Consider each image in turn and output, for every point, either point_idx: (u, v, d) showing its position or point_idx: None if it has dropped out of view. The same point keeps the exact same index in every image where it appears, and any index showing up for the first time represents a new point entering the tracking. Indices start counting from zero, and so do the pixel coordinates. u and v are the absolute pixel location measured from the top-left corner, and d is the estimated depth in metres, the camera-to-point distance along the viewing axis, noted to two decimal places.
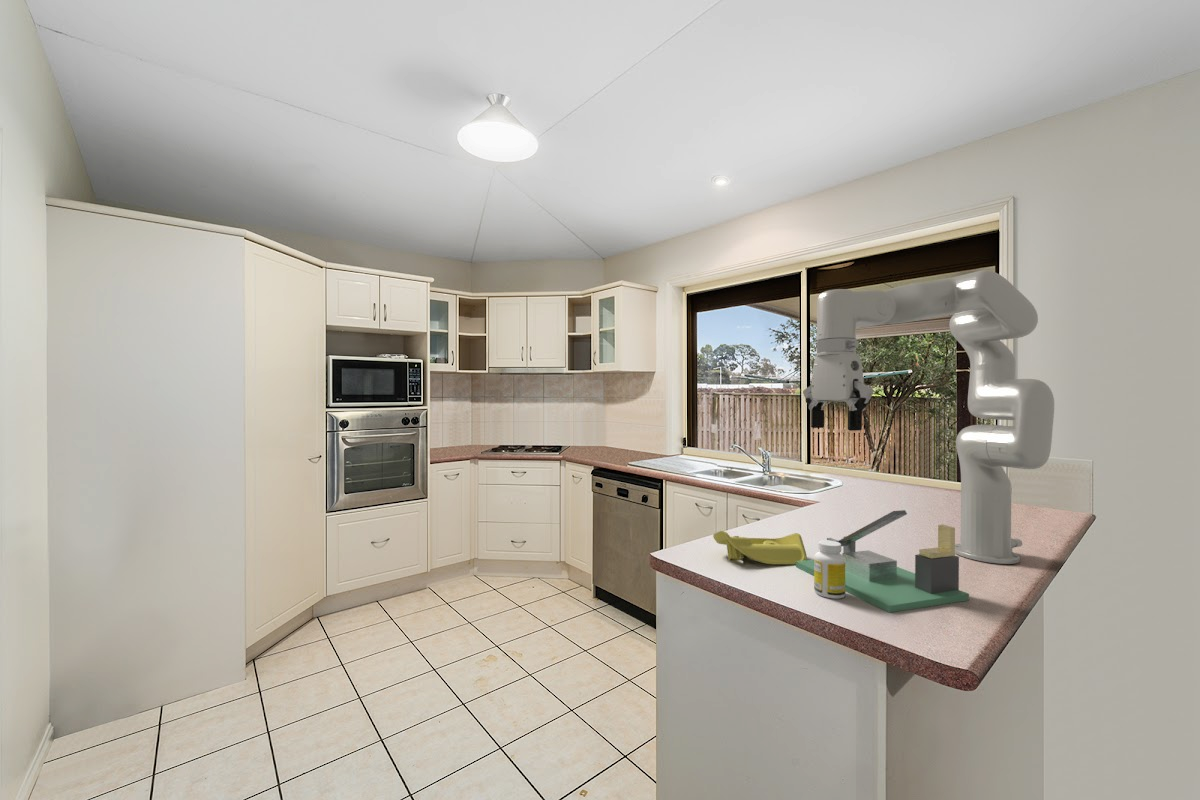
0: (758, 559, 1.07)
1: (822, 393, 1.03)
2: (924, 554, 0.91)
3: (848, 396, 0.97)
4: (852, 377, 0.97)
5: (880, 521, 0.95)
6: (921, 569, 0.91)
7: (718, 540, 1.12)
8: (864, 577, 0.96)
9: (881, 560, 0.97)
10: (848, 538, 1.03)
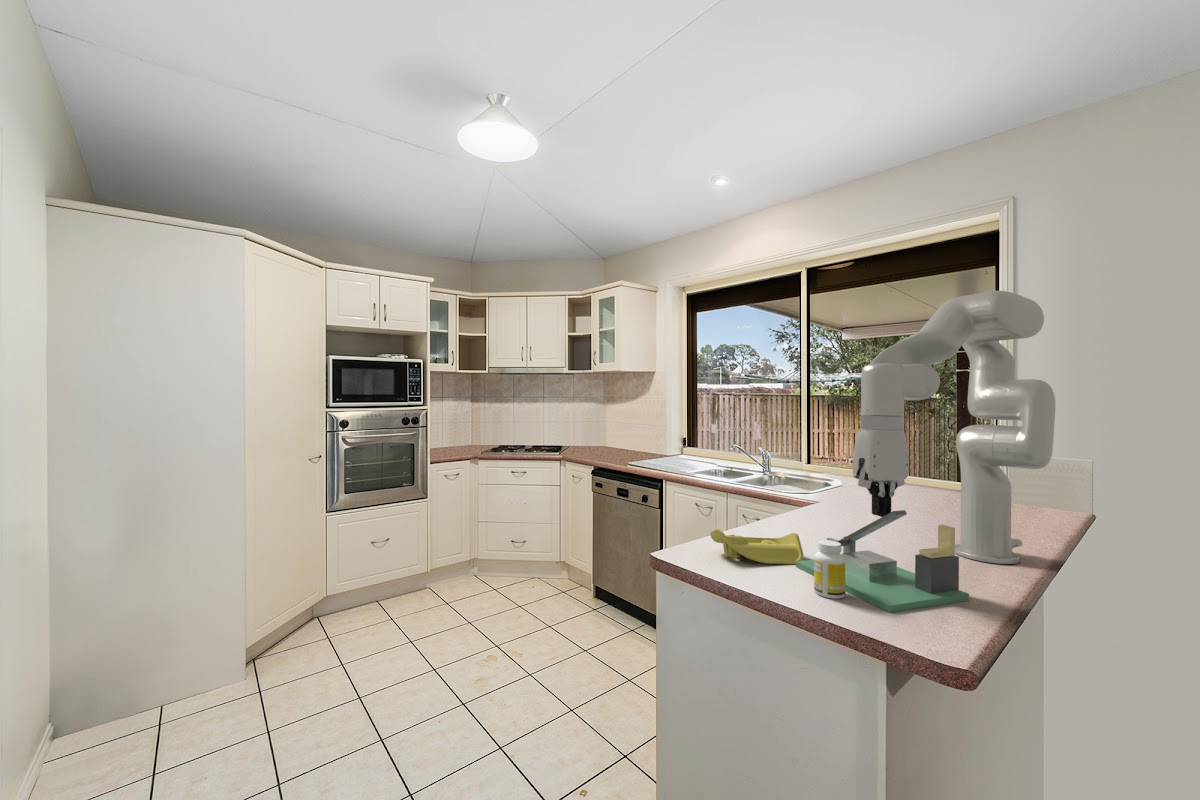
0: (753, 558, 1.08)
1: (885, 473, 0.94)
2: (924, 554, 0.91)
3: (907, 475, 0.97)
4: None
5: (880, 521, 0.95)
6: (921, 569, 0.91)
7: (714, 538, 1.13)
8: (864, 577, 0.96)
9: (881, 560, 0.97)
10: (848, 538, 1.03)
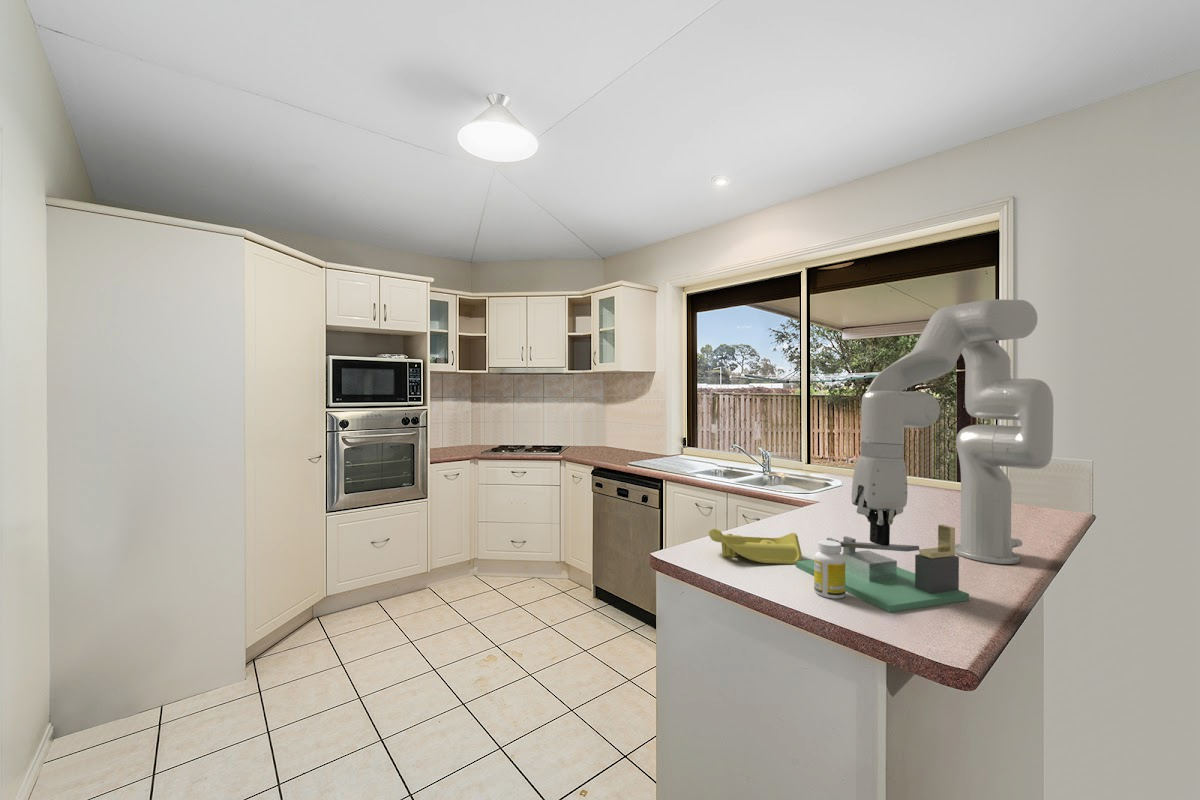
0: (750, 557, 1.08)
1: (884, 501, 0.94)
2: (924, 554, 0.91)
3: (906, 503, 0.96)
4: None
5: (889, 549, 0.93)
6: (921, 569, 0.91)
7: (713, 538, 1.14)
8: (864, 577, 0.96)
9: (881, 560, 0.97)
10: (850, 546, 1.02)
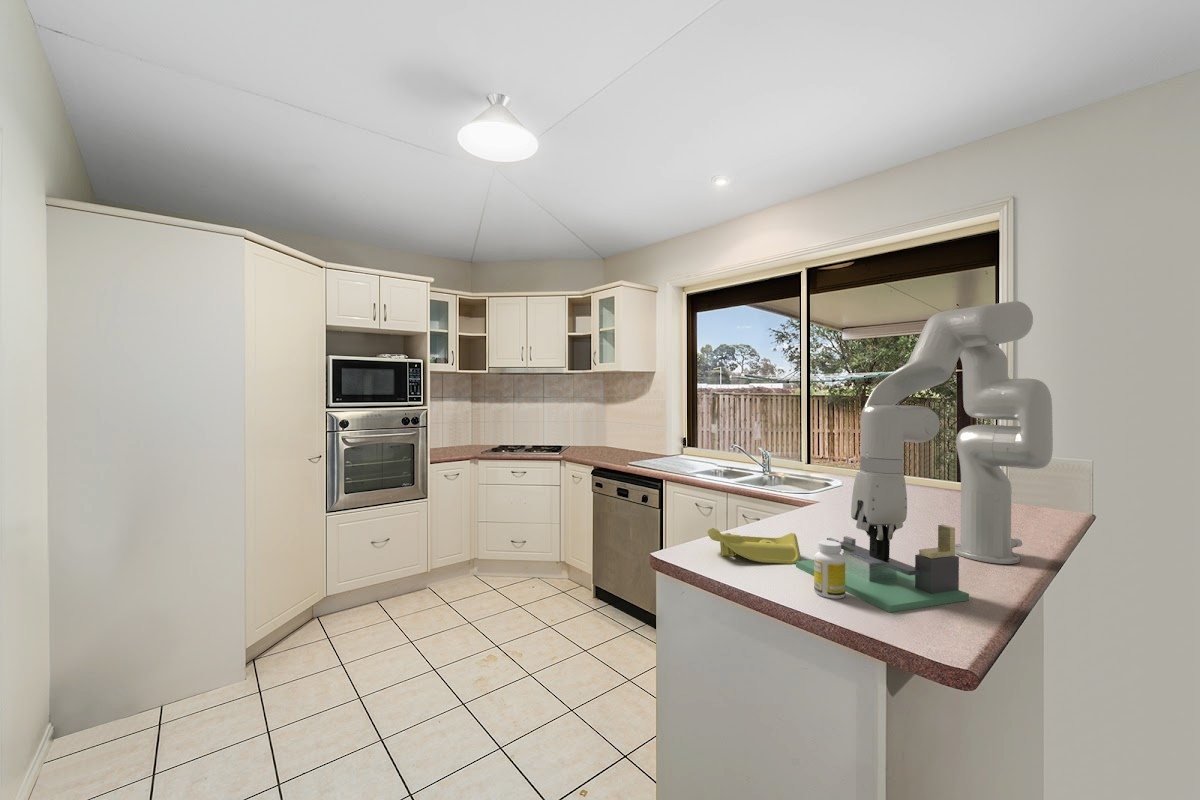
0: (748, 556, 1.09)
1: (884, 517, 0.94)
2: (924, 554, 0.91)
3: (905, 518, 0.96)
4: None
5: (890, 567, 0.93)
6: (921, 569, 0.91)
7: (711, 537, 1.15)
8: (864, 577, 0.96)
9: None
10: (850, 551, 1.02)
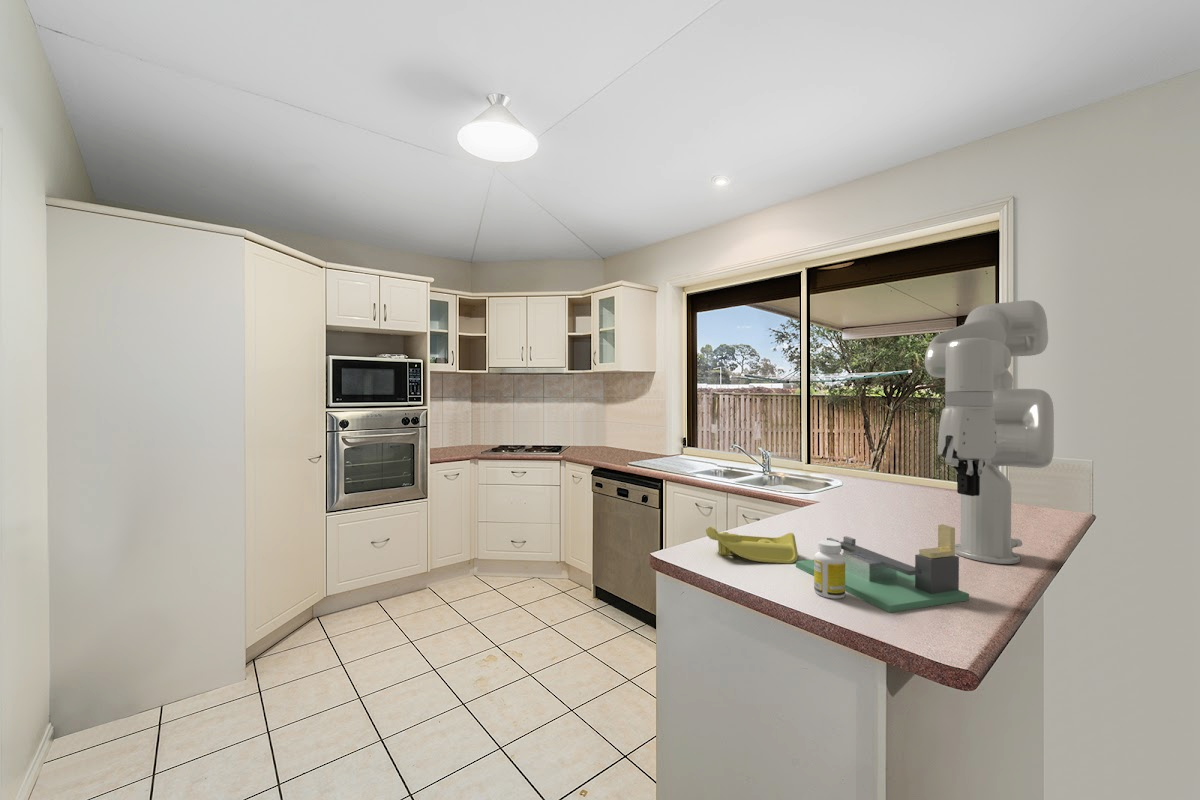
0: (744, 555, 1.09)
1: (974, 451, 0.92)
2: (924, 554, 0.91)
3: None
4: None
5: (890, 567, 0.93)
6: (921, 569, 0.91)
7: (709, 536, 1.16)
8: (864, 577, 0.96)
9: None
10: (850, 551, 1.02)
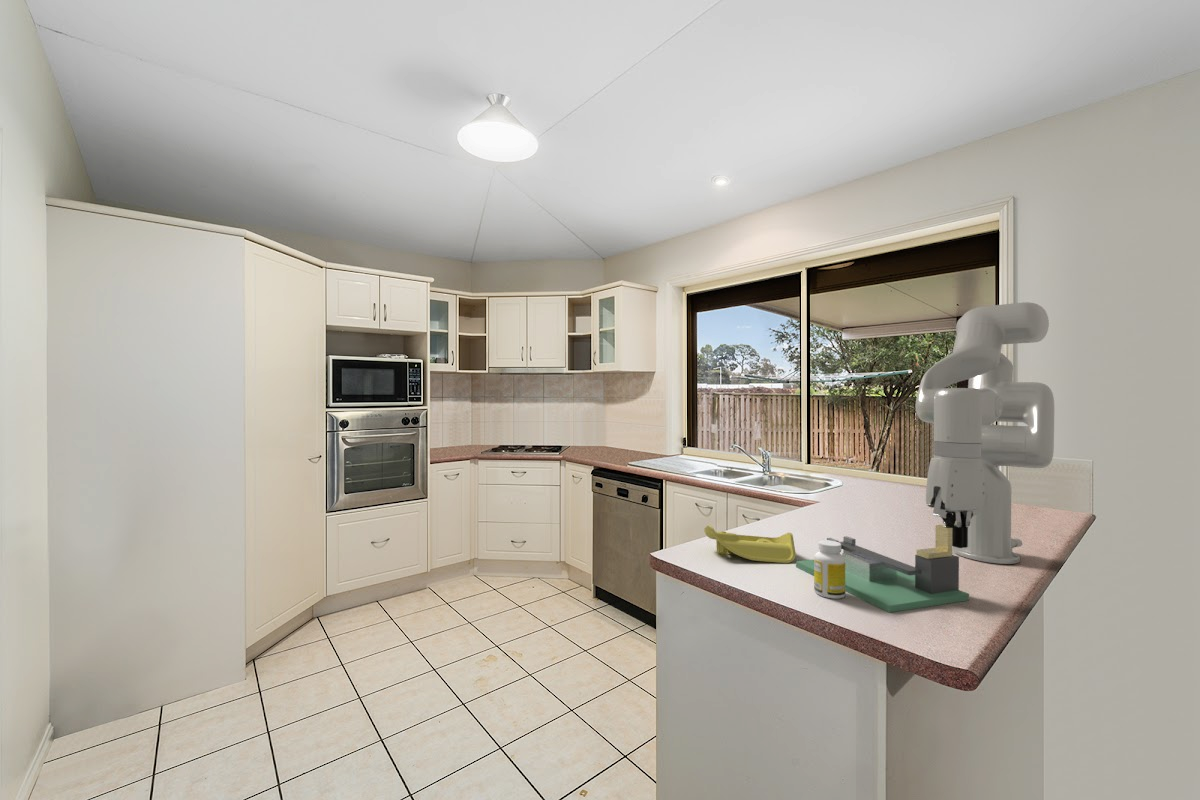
0: (741, 555, 1.10)
1: (962, 503, 0.91)
2: (921, 554, 0.91)
3: None
4: None
5: (890, 567, 0.93)
6: (921, 569, 0.91)
7: (707, 535, 1.17)
8: (864, 577, 0.96)
9: None
10: (850, 551, 1.02)
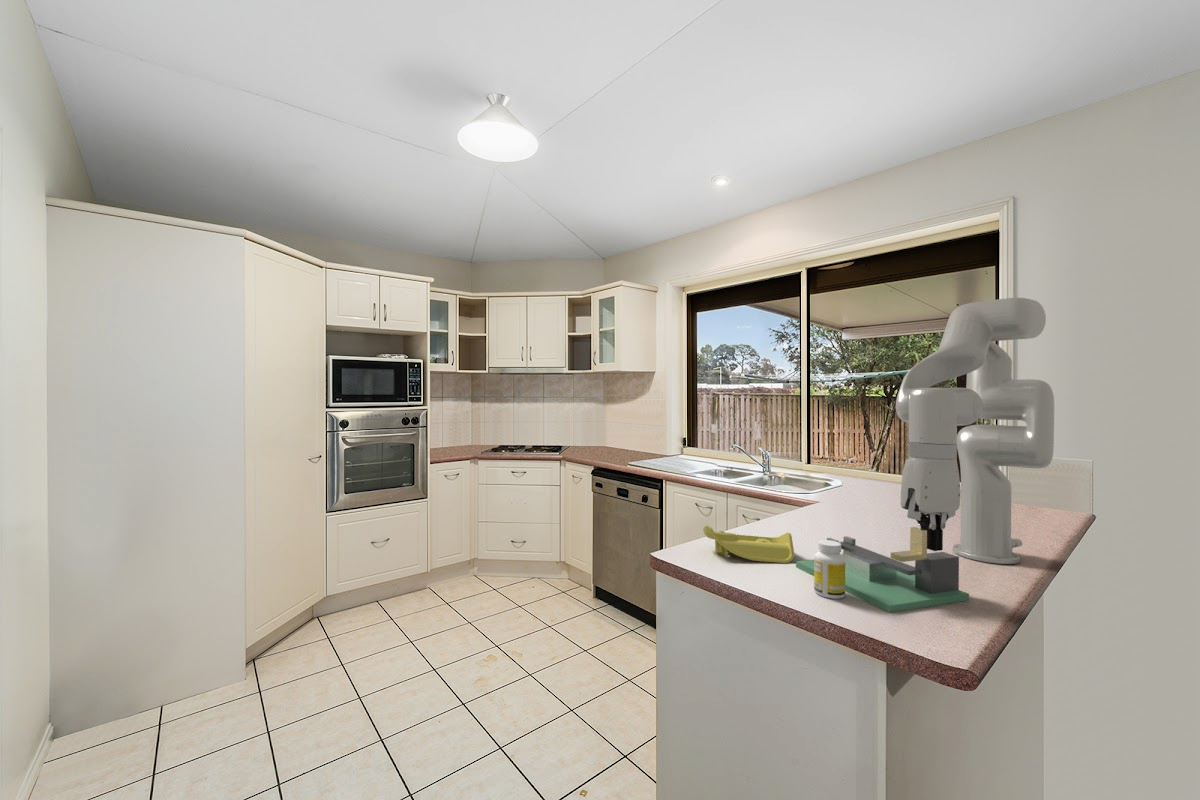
0: (740, 554, 1.10)
1: (937, 505, 0.89)
2: (895, 557, 0.89)
3: None
4: None
5: (890, 567, 0.93)
6: (921, 569, 0.91)
7: (706, 534, 1.17)
8: (864, 577, 0.96)
9: None
10: (850, 551, 1.02)
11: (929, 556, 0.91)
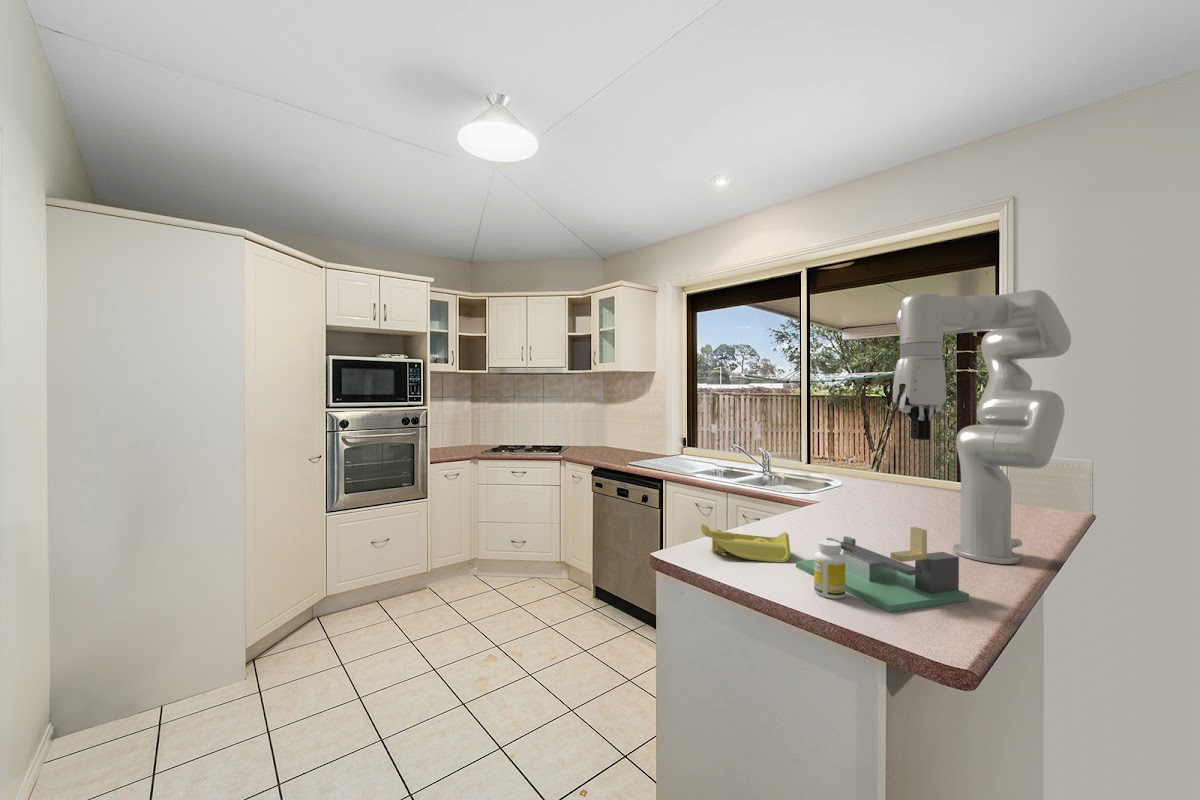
0: (735, 553, 1.11)
1: (925, 397, 0.99)
2: (895, 557, 0.89)
3: None
4: None
5: (890, 567, 0.93)
6: (921, 569, 0.91)
7: (703, 533, 1.18)
8: (864, 577, 0.96)
9: None
10: (850, 551, 1.02)
11: (929, 556, 0.91)
